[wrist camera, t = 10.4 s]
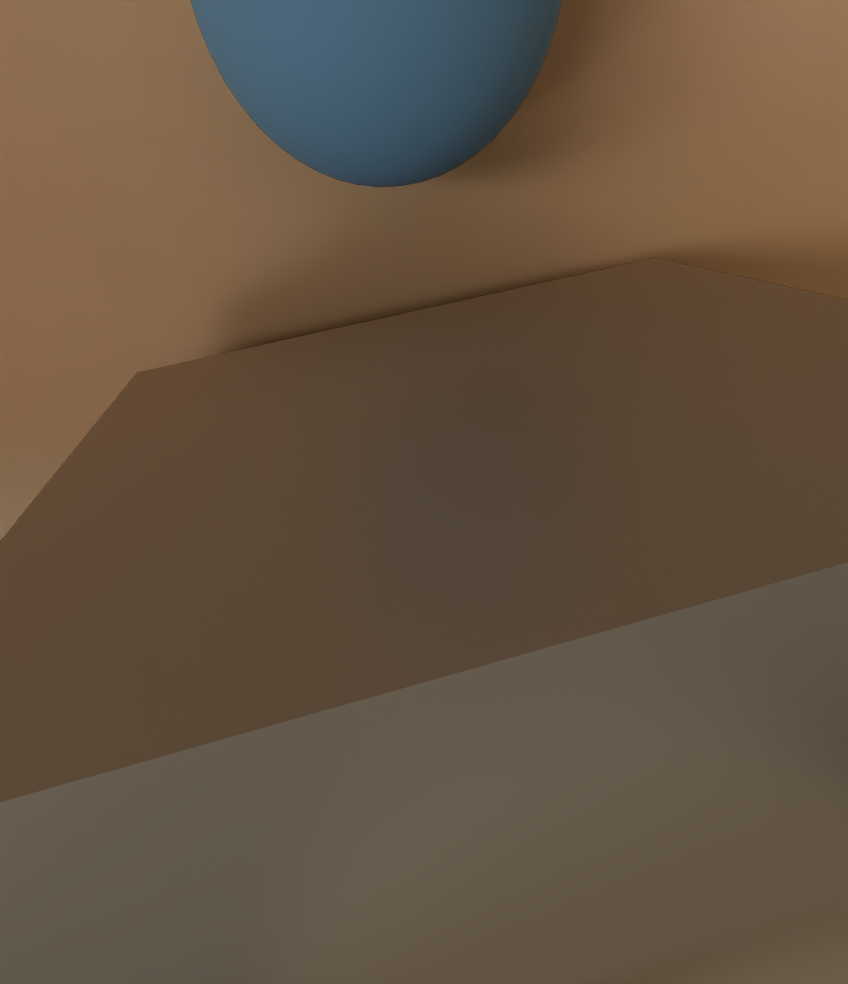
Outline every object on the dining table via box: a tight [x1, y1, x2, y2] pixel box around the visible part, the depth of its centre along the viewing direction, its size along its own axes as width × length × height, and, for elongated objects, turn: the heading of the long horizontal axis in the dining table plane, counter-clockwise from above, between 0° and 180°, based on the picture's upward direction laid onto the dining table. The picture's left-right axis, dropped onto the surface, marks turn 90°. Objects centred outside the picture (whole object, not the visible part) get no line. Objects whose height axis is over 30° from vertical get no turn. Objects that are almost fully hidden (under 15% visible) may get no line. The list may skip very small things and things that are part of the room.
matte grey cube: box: [0, 258, 848, 984], centre depth 10 cm, size 10×10×9 cm
